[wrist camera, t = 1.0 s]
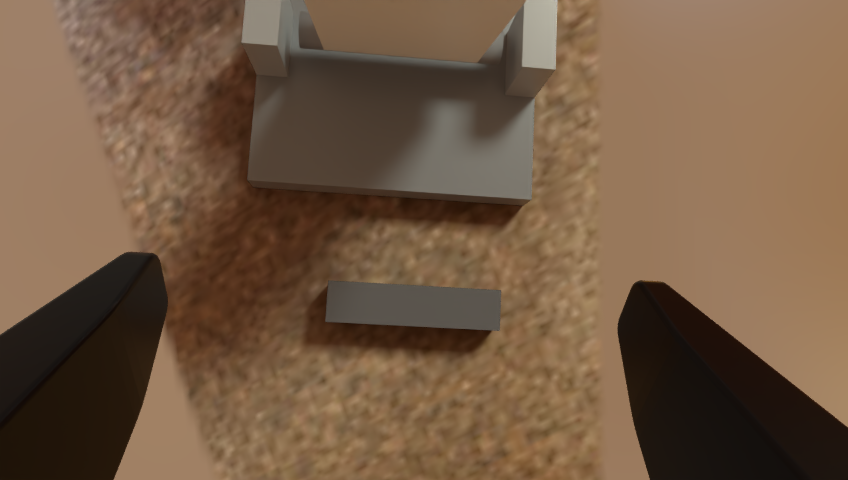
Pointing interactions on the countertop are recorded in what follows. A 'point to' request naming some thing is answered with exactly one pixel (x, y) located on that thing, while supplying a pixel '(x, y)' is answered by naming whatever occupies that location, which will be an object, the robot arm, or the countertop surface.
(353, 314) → the long grey bar
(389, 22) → the lever
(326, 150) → the grey twin-post base
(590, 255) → the countertop surface
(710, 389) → the robot arm
